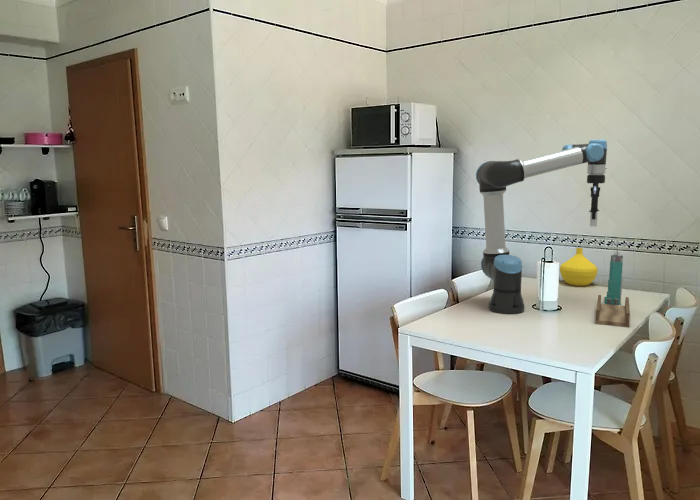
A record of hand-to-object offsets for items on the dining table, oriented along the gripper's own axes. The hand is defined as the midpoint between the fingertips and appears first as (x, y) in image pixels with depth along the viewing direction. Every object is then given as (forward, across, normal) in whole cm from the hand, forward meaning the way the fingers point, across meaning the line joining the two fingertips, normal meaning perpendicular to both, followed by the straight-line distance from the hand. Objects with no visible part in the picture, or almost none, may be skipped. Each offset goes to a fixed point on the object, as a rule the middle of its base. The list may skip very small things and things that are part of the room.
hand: (593, 225), depth 252 cm
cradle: (+35, -28, -10) cm, 46 cm away
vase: (+35, +32, +7) cm, 48 cm away
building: (+35, -8, -10) cm, 37 cm away
